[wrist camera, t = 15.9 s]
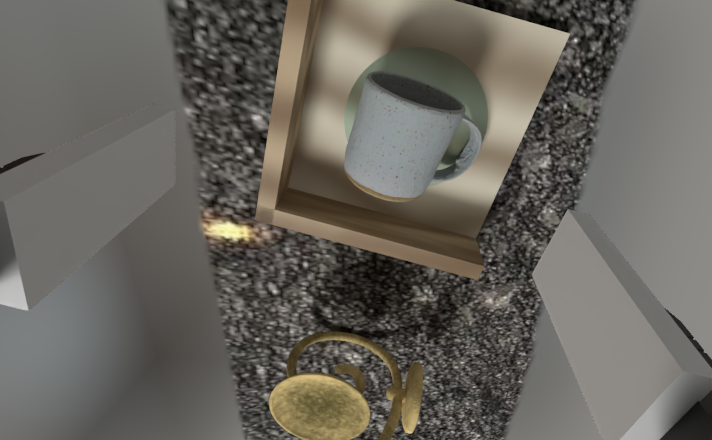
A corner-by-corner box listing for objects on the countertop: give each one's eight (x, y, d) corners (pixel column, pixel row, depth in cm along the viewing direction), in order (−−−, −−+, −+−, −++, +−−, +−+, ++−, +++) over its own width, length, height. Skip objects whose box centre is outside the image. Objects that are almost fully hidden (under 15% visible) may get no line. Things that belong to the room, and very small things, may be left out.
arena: (312, -41, 32) (295, -47, 27) (566, 32, 32) (595, 39, 27) (272, 193, 41) (255, 220, 36) (469, 246, 42) (477, 279, 37)
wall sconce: (423, 315, 46) (440, 604, 24) (404, 374, 51) (404, 664, 29) (299, 290, 46) (204, 555, 24) (291, 352, 51) (205, 622, 29)
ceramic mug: (344, 156, 38) (332, 192, 31) (370, 63, 34) (364, 81, 27) (456, 190, 38) (469, 232, 31) (495, 102, 34) (519, 130, 28)
